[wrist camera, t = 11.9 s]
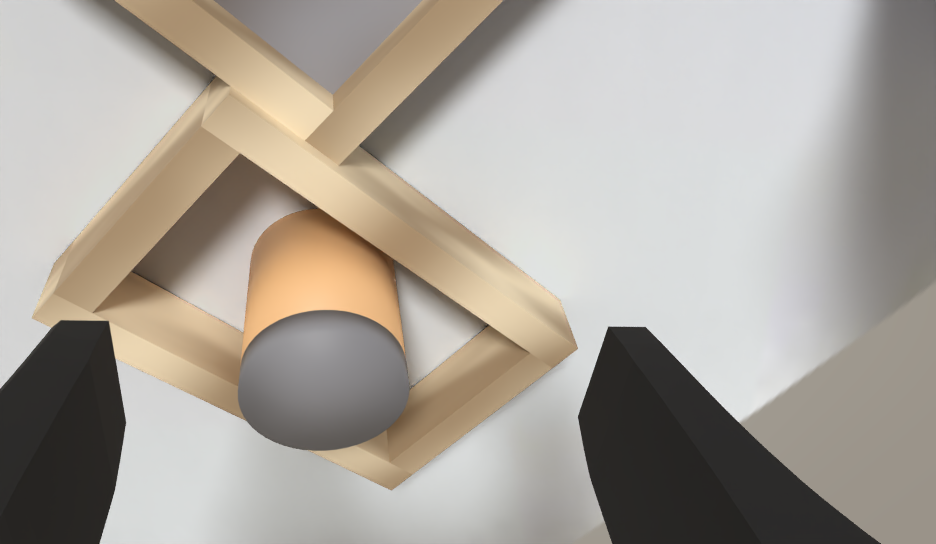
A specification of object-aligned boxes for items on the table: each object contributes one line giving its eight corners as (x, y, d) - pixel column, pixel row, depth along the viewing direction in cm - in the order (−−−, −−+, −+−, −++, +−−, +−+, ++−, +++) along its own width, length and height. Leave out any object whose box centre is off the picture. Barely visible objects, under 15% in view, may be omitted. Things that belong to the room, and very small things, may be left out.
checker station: (777, 127, 22) (815, 168, 20) (386, 438, 28) (391, 490, 26) (279, -488, 13) (273, -507, 11) (-152, 156, 19) (-198, 208, 17)
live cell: (398, 310, 24) (415, 438, 20) (265, 326, 24) (256, 460, 20) (386, 200, 22) (402, 323, 18) (237, 217, 21) (220, 345, 17)
